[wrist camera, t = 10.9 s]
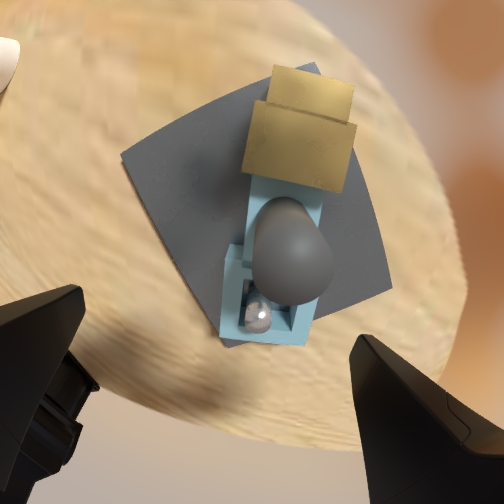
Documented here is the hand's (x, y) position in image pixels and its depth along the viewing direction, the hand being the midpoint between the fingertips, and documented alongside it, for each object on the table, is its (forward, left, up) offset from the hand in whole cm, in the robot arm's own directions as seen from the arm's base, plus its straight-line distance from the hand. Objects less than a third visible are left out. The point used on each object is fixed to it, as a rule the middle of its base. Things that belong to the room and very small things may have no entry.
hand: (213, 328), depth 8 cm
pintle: (-5, +1, -12) cm, 13 cm away
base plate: (0, -2, -12) cm, 12 cm away
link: (-2, -2, -11) cm, 11 cm away
